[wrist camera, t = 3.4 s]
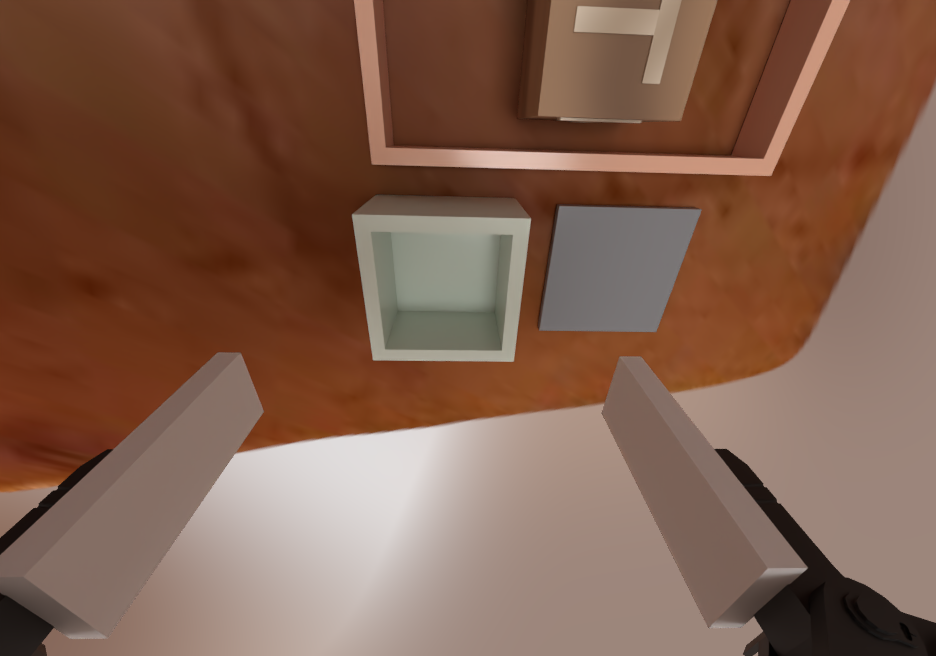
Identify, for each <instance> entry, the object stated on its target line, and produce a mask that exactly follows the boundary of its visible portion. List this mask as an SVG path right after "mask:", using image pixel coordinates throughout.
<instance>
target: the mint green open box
mask: <svg viewBox="0 0 936 656" xmlns="http://www.w3.org/2000/svg"><path fill="white" fill-rule="evenodd" d="M352 219H353V226H354V233H355V240H356V247H357V253H358V260H359V267H360V274H361V281H362V288H363V295H364V301H365V308H366V315H367V322H368V329H369V336H370V342H371V349H372V356H373V360H400V361H507V362H514V355H515V347H516V339H517V330H518V322H519V314H520V306H521V297H522V289H523V281H524V273H525V264H526V256H527V248H528V240H529V231H530V223H531V218H530V217H529V215H528V214H527V213H526V212H525V210H524V209H523V208H522V206H521V205H520V204H519V203H518V201H517V200H516V199H515V198H494V197H454V196H415V195H375V196H374V197H373V198H371V199H370V200H369V201H368V202H367V203H365V204H364V205H363V206H362V207H360V208H359V209H358V210H357V211H355V212H354V213H353V214H352Z"/></svg>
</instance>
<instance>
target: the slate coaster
mask: <svg viewBox="0 0 936 656" xmlns="http://www.w3.org/2000/svg"><path fill="white" fill-rule="evenodd" d="M700 213H701V209H698V208H692V207H652V206H612V205H572V204H557V207H556V213H555V220H554V226H553V232H552V239H551V245H550V251H549V258H548V264H547V271H546V277H545V283H544V290H543V296H542V303H541V309H540V315H539V322H538V328H539V330H544V331H624V332H656V331H657V328H658V326H659V323H660V320H661V318H662V315H663V312H664V310H665V307H666V304H667V301H668V299H669V296H670V293H671V291H672V288H673V285H674V283H675V280H676V277H677V275H678V272H679V269H680V266H681V264H682V261H683V258H684V256H685V253H686V250H687V248H688V245H689V242H690V240H691V237H692V234H693V231H694V229H695V226H696V223H697V221H698V218H699V215H700Z"/></svg>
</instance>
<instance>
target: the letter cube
mask: <svg viewBox="0 0 936 656" xmlns="http://www.w3.org/2000/svg"><path fill="white" fill-rule="evenodd" d="M716 3H717V0H527V10H526V22H525V33H524V44H523V55H522V67H521V78H520V89H519V101H518V112H517V119H540V120H560V121H570V122H579V123H587V122H617V123H641V122H659V121H681V119H682V115H683V112H684V109H685V105H686V102H687V99H688V95H689V92H690V89H691V86H692V82H693V79H694V76H695V72H696V69H697V66H698V63H699V59H700V56H701V53H702V49H703V46H704V43H705V39H706V36H707V33H708V30H709V26H710V23H711V20H712V16H713V13H714V10H715V7H716Z"/></svg>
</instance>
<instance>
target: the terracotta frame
mask: <svg viewBox="0 0 936 656" xmlns="http://www.w3.org/2000/svg"><path fill="white" fill-rule="evenodd" d="M849 2H850V0H791V1H790V4H789V7H788V9H787V12H786V14H785V17H784V20H783V22H782V25H781V27H780V30H779V33H778V35H777V38H776V40H775V43H774V46H773V48H772V51H771V53H770V56H769V59H768V61H767V64H766V66H765V69H764V72H763V74H762V77H761V79H760V82H759V85H758V87H757V90H756V92H755V95H754V98H753V100H752V103H751V105H750V108H749V111H748V113H747V116H746V118H745V121H744V124H743V126H742V129H741V131H740V134H739V137H738V139H737V142H736V144H735V147H734V150H733V152H732V155H731V156H727V155H694V154H661V153H628V152H595V151H562V150H529V149H496V148H463V147H430V146H397V145H394V141H393V128H392V115H391V102H390V88H389V75H388V62H387V49H386V36H385V22H384V9H383V0H354V5H355V14H356V23H357V33H358V42H359V51H360V60H361V70H362V79H363V88H364V97H365V107H366V116H367V125H368V134H369V144H370V153H371V162H372V165H407V166H442V167H477V168H512V169H548V170H583V171H618V172H653V173H688V174H724V175H759V176H771V175H772V172H773V170H774V168H775V166H776V164H777V161H778V159H779V157H780V155H781V153H782V150H783V148H784V146H785V144H786V141H787V139H788V137H789V135H790V133H791V130H792V128H793V126H794V124H795V121H796V119H797V117H798V115H799V113H800V110H801V108H802V106H803V104H804V102H805V99H806V97H807V95H808V93H809V90H810V88H811V86H812V84H813V82H814V79H815V77H816V75H817V73H818V71H819V68H820V66H821V64H822V62H823V59H824V57H825V55H826V53H827V51H828V48H829V46H830V44H831V42H832V40H833V37H834V35H835V33H836V31H837V28H838V26H839V24H840V22H841V20H842V17H843V15H844V13H845V11H846V9H847V6H848V4H849Z"/></svg>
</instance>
